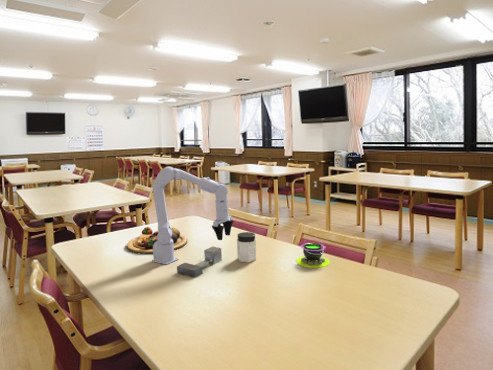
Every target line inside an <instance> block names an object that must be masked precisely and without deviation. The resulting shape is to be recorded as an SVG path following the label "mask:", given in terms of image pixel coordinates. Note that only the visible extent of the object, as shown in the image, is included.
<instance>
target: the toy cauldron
mask: <svg viewBox="0 0 493 370" xmlns="http://www.w3.org/2000/svg"><path fill="white" fill-rule="evenodd" d="M312 240H314V241H315V240H319V239H318V237H316V239H311V238H309V241H312ZM322 243H323V242H322V241H321V240H320V243H316V242H308V243H306V240H304V241H303V244H301V245H300V247H299V248H300V249H302V252H303V256H299V257H298V258H296V261H295V263H296V264H297V265H298V266H302V267H305V268H310V269H319V268H325V267H328V266H329V265H330V264H331V262H330V260H329V259H328V258H326V257H323V253H324V251H325V250H326V248H327V247H326V245H323V244H322Z"/></svg>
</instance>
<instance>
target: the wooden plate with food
mask: <svg viewBox="0 0 493 370" xmlns="http://www.w3.org/2000/svg"><path fill="white" fill-rule="evenodd" d="M171 229H172V231H173V234H172V236H171V239H172V240H173V245H174V250H175V251H177V249H178V250H179V249H182V248H184V247H185V246H186V245H187V244H188V238H187V237H186V236H185V235H183V234H181V232H180V231H179V229H177V228H176V227H172V228H171ZM157 235H158V230H156V231H154V232H153V229H152V228H151V227H149V226H146V227H144V228H143V229H142V231H141V234H140V235H139V236H137V237H135V238H132V239H131V240H129V241H128V242H127V243H126V249H127V250H128V251H129V252H130V251H131V253H133V252H134V253H135V254H138V253H140V254H139V255H153V245H154V243H155V242H157V241H158V240H157ZM134 253H133V254H134Z"/></svg>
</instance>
